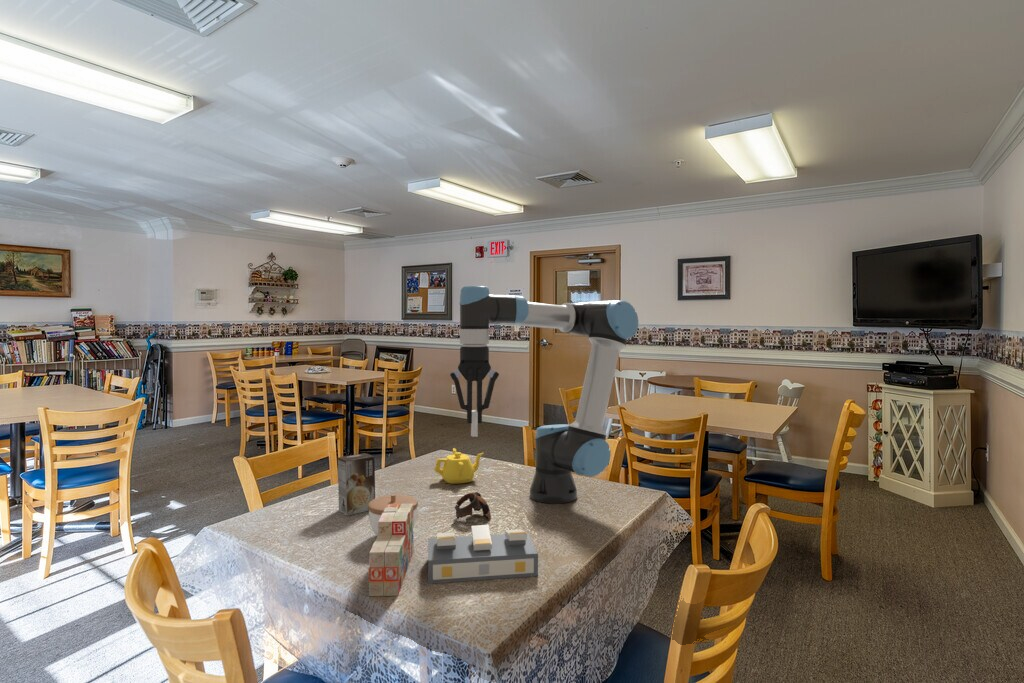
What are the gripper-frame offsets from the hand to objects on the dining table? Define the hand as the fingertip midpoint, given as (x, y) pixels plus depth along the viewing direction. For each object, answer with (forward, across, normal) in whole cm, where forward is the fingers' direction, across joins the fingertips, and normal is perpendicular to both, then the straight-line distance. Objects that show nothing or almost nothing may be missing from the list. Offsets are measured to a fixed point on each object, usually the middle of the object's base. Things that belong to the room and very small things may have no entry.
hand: (474, 435), depth 141 cm
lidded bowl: (+27, +21, -2) cm, 34 cm away
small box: (+20, -8, +19) cm, 29 cm away
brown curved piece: (+27, -1, -13) cm, 30 cm away
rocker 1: (+20, +8, +19) cm, 29 cm away
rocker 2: (+20, 0, +19) cm, 28 cm away
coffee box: (+27, +33, -24) cm, 49 cm away
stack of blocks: (+27, +20, +18) cm, 38 cm away
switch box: (+26, 0, +19) cm, 33 cm away
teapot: (+27, +1, -51) cm, 58 cm away
